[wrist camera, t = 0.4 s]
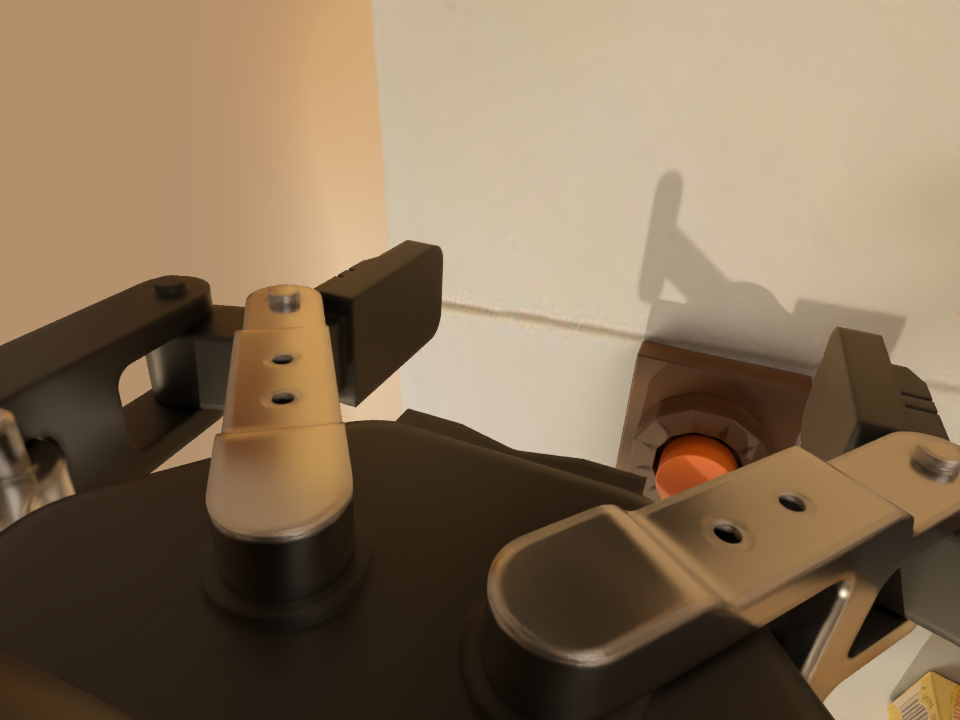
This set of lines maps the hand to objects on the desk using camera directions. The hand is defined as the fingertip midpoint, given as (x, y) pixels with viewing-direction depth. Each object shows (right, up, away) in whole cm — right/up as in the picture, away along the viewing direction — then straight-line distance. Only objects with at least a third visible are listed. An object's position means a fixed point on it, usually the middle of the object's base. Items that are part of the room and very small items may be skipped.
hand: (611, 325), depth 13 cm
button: (+8, -6, +18) cm, 21 cm away
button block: (+9, -5, +21) cm, 23 cm away
